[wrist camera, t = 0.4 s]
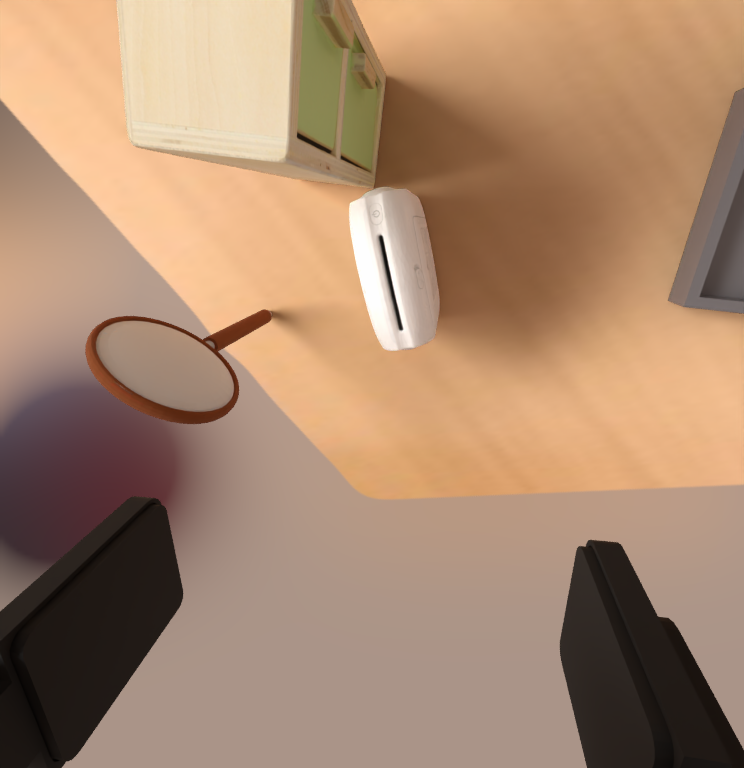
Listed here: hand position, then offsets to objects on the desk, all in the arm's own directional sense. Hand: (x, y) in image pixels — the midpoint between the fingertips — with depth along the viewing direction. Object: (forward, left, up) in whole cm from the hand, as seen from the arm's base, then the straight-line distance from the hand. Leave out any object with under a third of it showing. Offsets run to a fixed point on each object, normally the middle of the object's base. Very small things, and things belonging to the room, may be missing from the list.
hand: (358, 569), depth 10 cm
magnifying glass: (+2, -14, -31) cm, 34 cm away
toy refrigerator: (-13, -8, -31) cm, 34 cm away
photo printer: (-4, -2, -31) cm, 31 cm away
